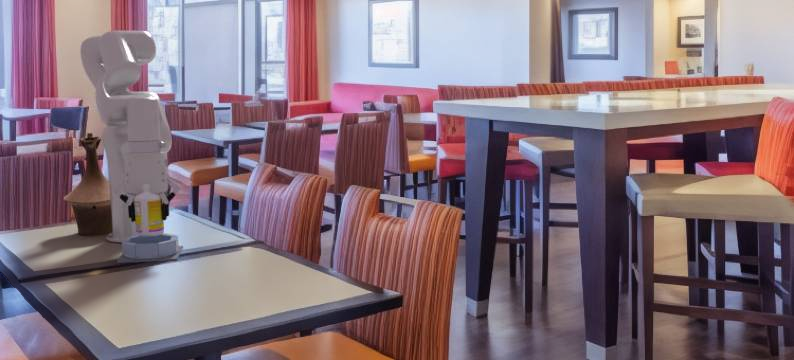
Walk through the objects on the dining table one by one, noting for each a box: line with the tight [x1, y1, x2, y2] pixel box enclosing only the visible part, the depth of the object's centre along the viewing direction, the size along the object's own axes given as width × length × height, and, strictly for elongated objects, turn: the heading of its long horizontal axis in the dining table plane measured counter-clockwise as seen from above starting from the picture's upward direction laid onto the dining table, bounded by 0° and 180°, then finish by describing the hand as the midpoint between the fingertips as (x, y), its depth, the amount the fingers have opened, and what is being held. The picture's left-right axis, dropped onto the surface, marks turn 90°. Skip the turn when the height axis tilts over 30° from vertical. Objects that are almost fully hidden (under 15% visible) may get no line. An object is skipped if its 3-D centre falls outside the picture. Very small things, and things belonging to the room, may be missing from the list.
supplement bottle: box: [134, 184, 165, 237], centre depth 202 cm, size 7×7×13 cm
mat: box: [116, 245, 184, 264], centre depth 204 cm, size 14×14×1 cm
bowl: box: [121, 232, 180, 260], centre depth 203 cm, size 13×13×4 cm
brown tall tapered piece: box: [63, 132, 112, 237], centre depth 230 cm, size 18×17×28 cm
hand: (149, 219), depth 202 cm, fingers closed on supplement bottle, 6 cm apart
